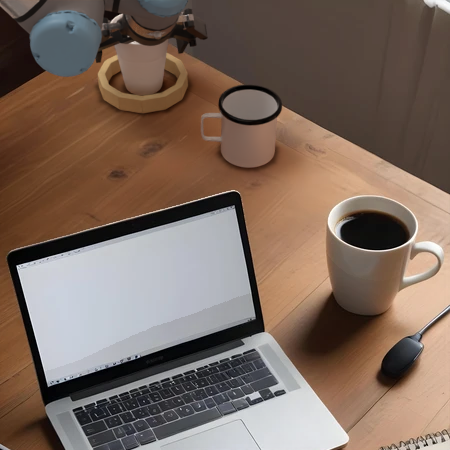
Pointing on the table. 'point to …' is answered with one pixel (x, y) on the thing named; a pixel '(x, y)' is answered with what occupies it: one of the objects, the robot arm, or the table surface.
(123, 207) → the table surface
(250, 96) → the mug
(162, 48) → the cup
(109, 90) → the tan faceted ring
